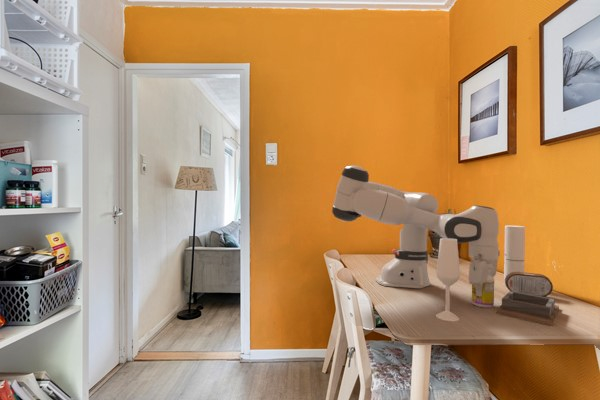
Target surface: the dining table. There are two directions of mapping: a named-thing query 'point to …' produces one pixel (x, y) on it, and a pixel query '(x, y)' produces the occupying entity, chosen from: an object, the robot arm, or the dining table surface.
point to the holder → (529, 307)
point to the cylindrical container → (514, 249)
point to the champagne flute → (448, 272)
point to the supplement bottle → (485, 293)
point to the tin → (529, 283)
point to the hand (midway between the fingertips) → (482, 293)
